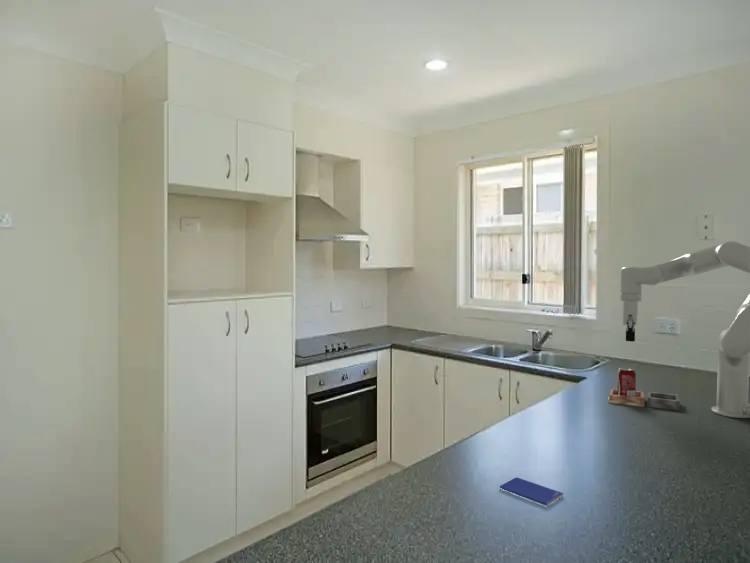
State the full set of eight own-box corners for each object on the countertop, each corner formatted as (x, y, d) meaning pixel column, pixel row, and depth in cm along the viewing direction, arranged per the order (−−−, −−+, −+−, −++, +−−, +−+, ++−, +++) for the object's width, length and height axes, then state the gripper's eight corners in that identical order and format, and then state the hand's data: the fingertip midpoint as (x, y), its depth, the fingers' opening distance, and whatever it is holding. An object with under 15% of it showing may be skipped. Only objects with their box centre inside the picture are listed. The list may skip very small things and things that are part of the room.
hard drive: (563, 492, 120) (517, 476, 129) (546, 503, 115) (499, 485, 124) (563, 498, 120) (517, 482, 129) (546, 510, 115) (499, 492, 124)
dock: (677, 402, 202) (678, 394, 202) (679, 411, 191) (679, 402, 191) (609, 395, 214) (610, 386, 214) (607, 402, 203) (607, 393, 203)
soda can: (638, 400, 202) (638, 370, 202) (621, 400, 202) (621, 370, 202) (630, 396, 209) (631, 367, 208) (614, 395, 209) (614, 366, 209)
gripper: (621, 296, 214) (620, 336, 214) (619, 298, 199) (619, 341, 199) (641, 296, 211) (640, 337, 211) (641, 298, 195) (641, 343, 196)
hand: (630, 339), depth 205 cm, fingers open, 9 cm apart
